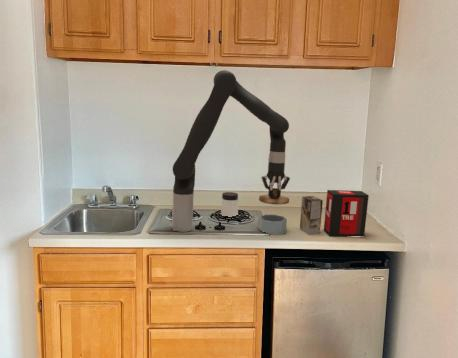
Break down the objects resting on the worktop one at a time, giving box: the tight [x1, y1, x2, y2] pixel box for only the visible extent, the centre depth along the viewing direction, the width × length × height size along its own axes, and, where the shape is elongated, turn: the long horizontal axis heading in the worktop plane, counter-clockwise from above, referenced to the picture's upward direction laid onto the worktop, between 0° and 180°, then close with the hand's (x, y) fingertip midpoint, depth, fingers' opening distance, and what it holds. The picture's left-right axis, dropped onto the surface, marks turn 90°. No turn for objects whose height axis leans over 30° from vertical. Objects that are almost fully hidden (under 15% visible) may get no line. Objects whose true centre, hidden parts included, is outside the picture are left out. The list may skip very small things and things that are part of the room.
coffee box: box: [299, 195, 324, 235], centre depth 202 cm, size 9×6×16 cm
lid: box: [258, 187, 290, 205], centre depth 199 cm, size 14×14×6 cm
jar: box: [220, 191, 239, 217], centre depth 221 cm, size 9×8×12 cm
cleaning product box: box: [323, 189, 370, 238], centre depth 200 cm, size 16×9×20 cm, turn 94°
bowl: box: [258, 213, 288, 235], centre depth 201 cm, size 12×12×6 cm
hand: (274, 197), depth 199 cm, fingers closed on lid, 3 cm apart
